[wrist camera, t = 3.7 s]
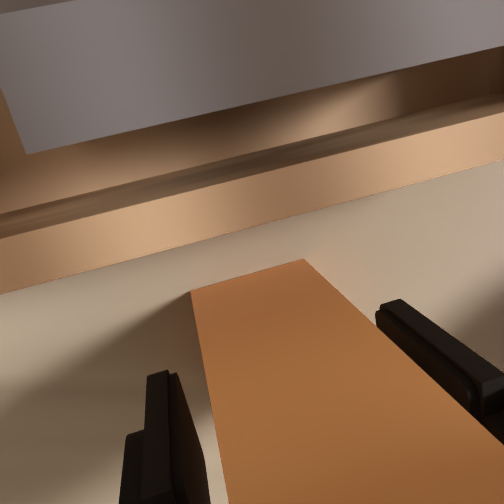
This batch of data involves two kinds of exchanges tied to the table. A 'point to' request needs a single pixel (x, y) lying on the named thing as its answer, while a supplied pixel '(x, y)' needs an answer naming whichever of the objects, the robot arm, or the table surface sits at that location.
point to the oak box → (226, 116)
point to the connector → (330, 402)
